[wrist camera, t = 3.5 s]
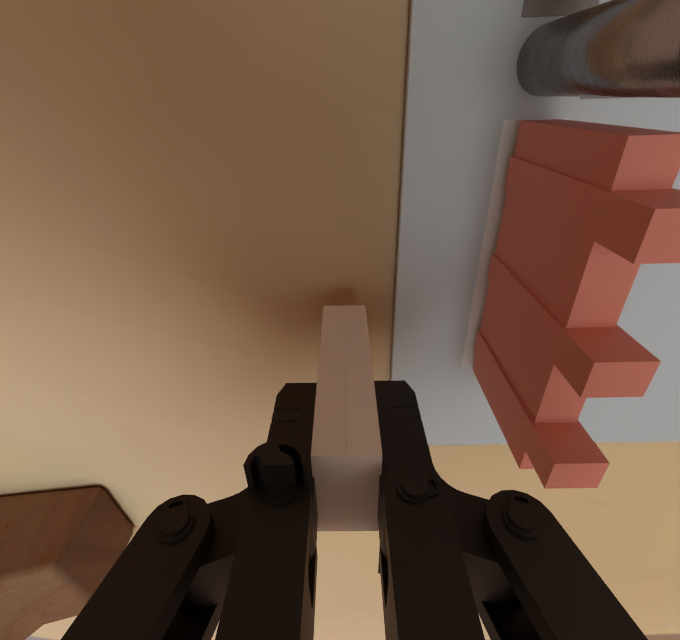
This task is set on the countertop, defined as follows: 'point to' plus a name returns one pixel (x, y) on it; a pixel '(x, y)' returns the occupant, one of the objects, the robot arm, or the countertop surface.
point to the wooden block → (55, 555)
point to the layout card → (499, 219)
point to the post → (606, 52)
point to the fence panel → (572, 285)
